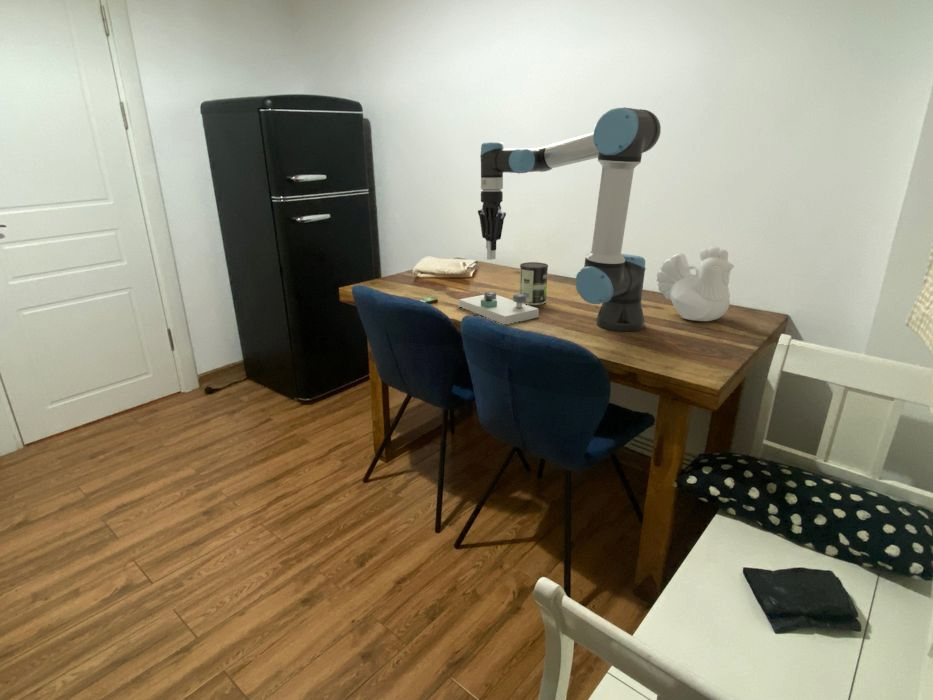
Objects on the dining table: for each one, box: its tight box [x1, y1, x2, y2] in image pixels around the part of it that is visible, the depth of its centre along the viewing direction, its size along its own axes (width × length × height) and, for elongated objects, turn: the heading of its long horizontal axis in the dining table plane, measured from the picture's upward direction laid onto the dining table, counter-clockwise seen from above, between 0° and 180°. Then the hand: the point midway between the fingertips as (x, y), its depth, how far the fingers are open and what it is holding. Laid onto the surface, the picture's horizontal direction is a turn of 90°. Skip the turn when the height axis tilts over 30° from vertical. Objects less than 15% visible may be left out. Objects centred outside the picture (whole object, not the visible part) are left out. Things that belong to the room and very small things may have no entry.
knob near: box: [512, 293, 526, 309], centre depth 187 cm, size 4×4×5 cm
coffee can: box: [519, 261, 549, 306], centre depth 203 cm, size 10×10×14 cm
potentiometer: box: [481, 295, 497, 308], centre depth 189 cm, size 4×4×4 cm
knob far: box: [483, 291, 497, 299], centre depth 200 cm, size 4×4×5 cm
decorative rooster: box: [656, 246, 735, 322], centre depth 184 cm, size 25×16×25 cm, turn 31°
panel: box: [458, 294, 540, 325], centre depth 192 cm, size 26×15×3 cm, turn 36°
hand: (491, 258), depth 194 cm, fingers closed
